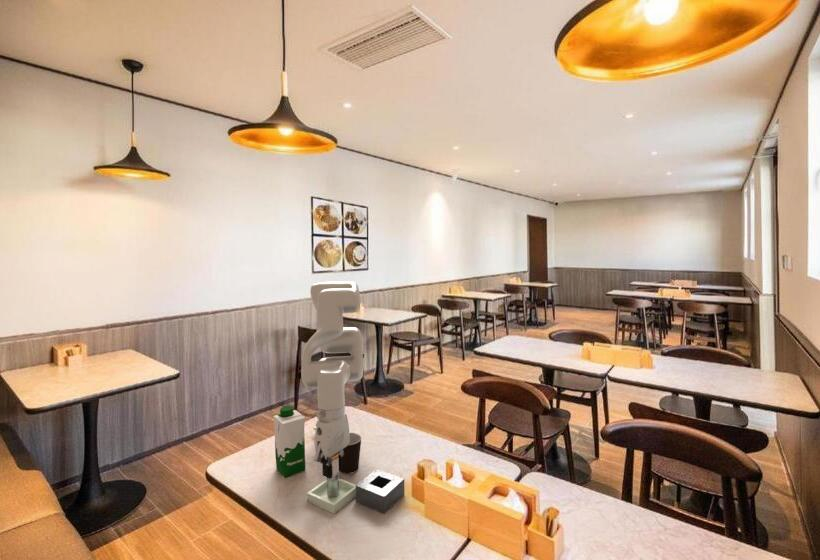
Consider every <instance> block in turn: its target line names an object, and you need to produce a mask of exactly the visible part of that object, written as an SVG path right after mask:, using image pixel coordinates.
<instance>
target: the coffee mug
mask: <svg viewBox="0 0 820 560" xmlns="http://www.w3.org/2000/svg"><path fill="white" fill-rule="evenodd" d="M349 434H350V442H349V444H348V446H346V448H345V450H344V455H343V457H342V471H341V472H340V473H342V474H346V475H348V474H354V473H355V472H357V471H358V470H359V463H360V455H361V454H360V453H361V445H362V436H361V435H360V434H358V433H355V432H349Z"/></svg>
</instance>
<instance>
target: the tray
mask: <svg viewBox="0 0 820 560" xmlns="http://www.w3.org/2000/svg"><path fill="white" fill-rule="evenodd" d="M356 485H357V484H355V483H353V482H351V481H350V482H349V481H347V480H345V479H342V478H340V477H339V491H340V493H339V495H338V496H336V497H329V496H328V495H327V478H326V479H325V480H323V481H322V482H321V483H319V484H317V485H316V486H314V488H312V489H310V490H309V491H308V492H306V502H307V503H308V504H309V503H310V504H312V505H314V506H315V507H316V506H317V507H318V508H321V509H322V510H325V511H327V512H329V513H331V514H334V515H335V514H336V513H337V512H339V511H340V510H341V509H342V508H343V507H344V506H346V505H348V503H350V502H351V501H352V500H353V499H354V498H356Z"/></svg>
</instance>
